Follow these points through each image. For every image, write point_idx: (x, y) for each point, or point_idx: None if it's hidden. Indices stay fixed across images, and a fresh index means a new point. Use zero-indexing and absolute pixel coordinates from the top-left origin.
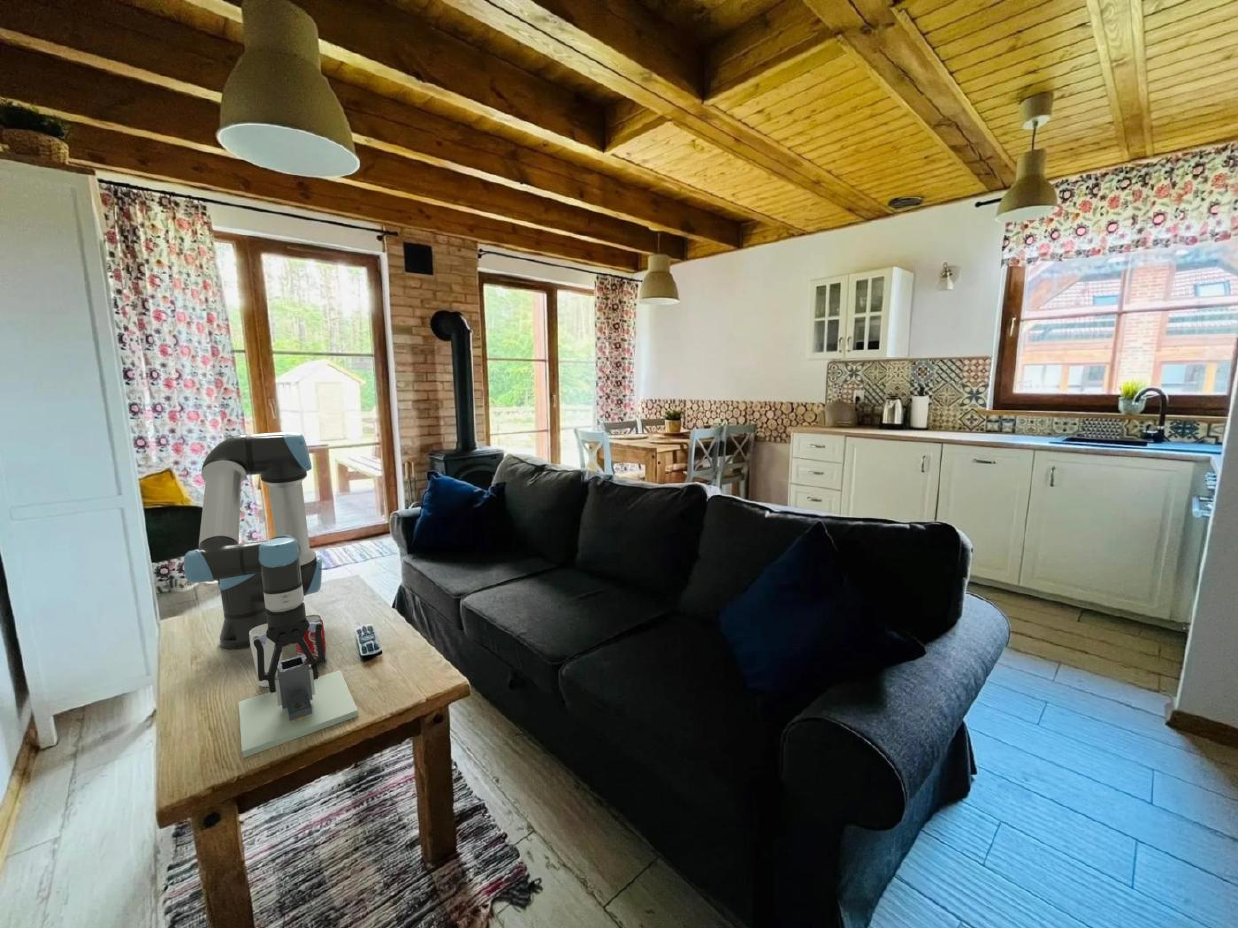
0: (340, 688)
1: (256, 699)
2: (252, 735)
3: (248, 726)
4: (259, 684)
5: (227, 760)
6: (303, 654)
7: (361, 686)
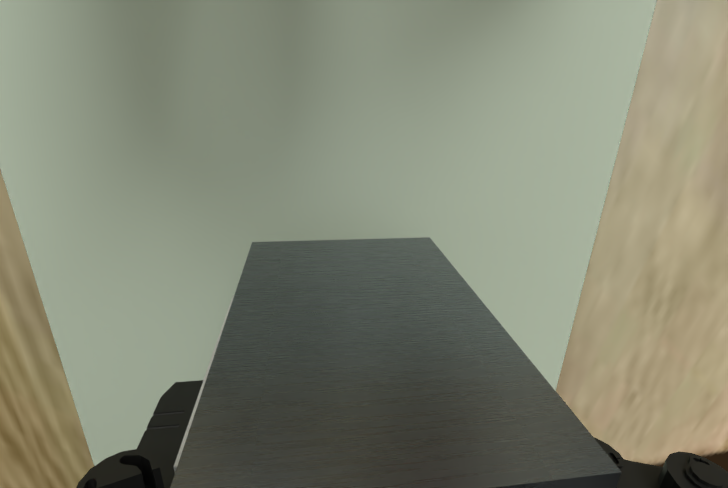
0: (557, 254)
1: (87, 28)
2: (134, 427)
3: (98, 347)
4: None
5: (61, 467)
6: (593, 474)
7: (631, 234)
